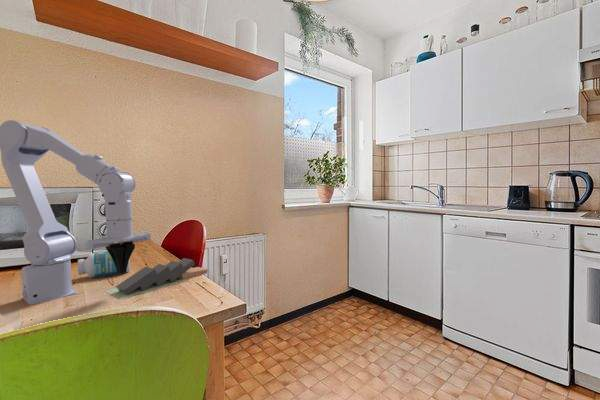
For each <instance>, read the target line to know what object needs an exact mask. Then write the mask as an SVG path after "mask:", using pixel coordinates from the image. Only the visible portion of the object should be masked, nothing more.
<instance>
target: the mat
mask: <svg viewBox="0 0 600 400" xmlns="http://www.w3.org/2000/svg"><path fill="white" fill-rule="evenodd" d="M185 281H188V279H179V278H177V279H176V280H174V281H173V282H168V281H165V282H164V283H162V284H161V285H160V286H155V285H150V286H149V287H148V288H146V289H145V290H143V291H142V290H139V289H135V290H134V291H132V292H131V293H130V294H128V295H126V294H124V293H122V292H120V291H118V289H117V287H115V288H111V289H107V290H104V292H105V293H107V294H109V295H111V296H113V297H115V298H117V299H120V300H124V299H127V298H130V297H134V296H137V295H138V296H139V295H140V294H144V293H149V292H151V291H154V290H158V289H161V288H165V287H166V288H167V287H168V286H172V285H176V284H180V283H183V282H185Z"/></svg>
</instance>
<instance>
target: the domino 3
mask: <svg viewBox="0 0 600 400" xmlns="http://www.w3.org/2000/svg"><path fill="white" fill-rule="evenodd" d="M164 265H165V266H168V267H169V269H170V272H168V273H167V274H166V275H164V276H163V277H161V278H160V279H159V280H157V281H156V282H155V283H153V284H152V285H155V286H160V285H161V284H162V283H164V282H165V281H166V280H168V279H169V278H170V277H171V276H173V275H174V274H175V273H177V272H178V271H179V270H181V269H182V268H183V265H182V263H179V261H175V260H171V261H169V262H168V263H166V264H164Z"/></svg>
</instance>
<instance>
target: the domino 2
mask: <svg viewBox="0 0 600 400" xmlns="http://www.w3.org/2000/svg"><path fill="white" fill-rule="evenodd" d="M165 265H166V264H161V263H158V264H156V265H155V266H154V267H151V268H152V269H155V271H156V273H157V275H155V276H154V277H152V278H151V279H149V280H148V281H147V282H145V283H144V284H142V285H141V286H140V287H138V288H137V289H139V290H142V291H143V290H145V289H146V288H148V287H149V286H150V285H152V284H153V283H155V282H156V281H157V280H159V279H160V278H161V277H163V276H164V275H166V274H167V273H168V272H170V269H169V267H168V266H165Z"/></svg>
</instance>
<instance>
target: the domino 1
mask: <svg viewBox="0 0 600 400" xmlns="http://www.w3.org/2000/svg"><path fill="white" fill-rule="evenodd" d="M152 268H153V267H148V266H144V267H143V268H140V270H138V271H136V273H134V274H132V275H131V276H129V277H128V278H126V279H124V280H122V282H120V283H119V284H118V285H116V286H115V288H117V289H118V291H120V292H122V293H124V294H126V295H128V294H130V293H131V292H132V291H134V290H135V289H137V288H138V287H140V286H141V285H142V284H144V283H145V282H147V281H148V280H149V279H151V278H152V277H154V276H155V275H157V273H156V271H155V269H152Z"/></svg>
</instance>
